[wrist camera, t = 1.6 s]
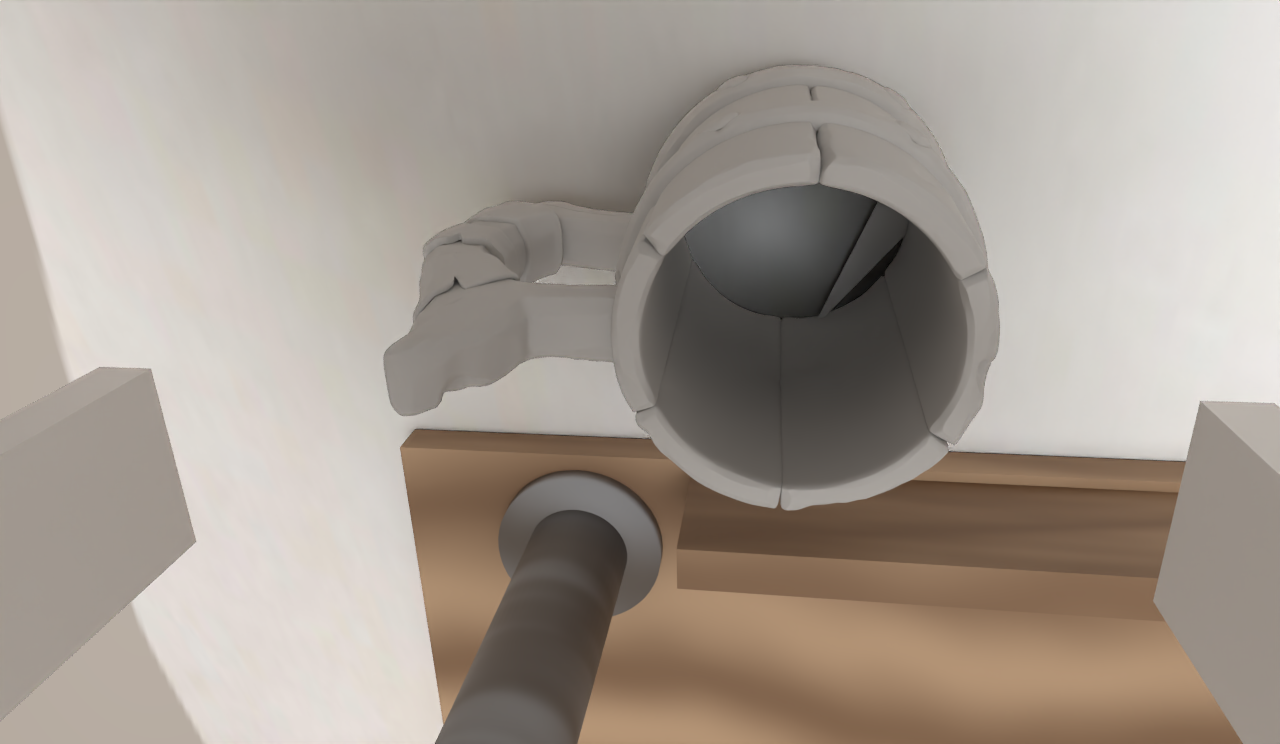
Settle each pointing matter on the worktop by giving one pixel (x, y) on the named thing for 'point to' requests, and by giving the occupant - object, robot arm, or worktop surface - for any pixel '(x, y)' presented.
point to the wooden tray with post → (796, 602)
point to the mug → (724, 332)
